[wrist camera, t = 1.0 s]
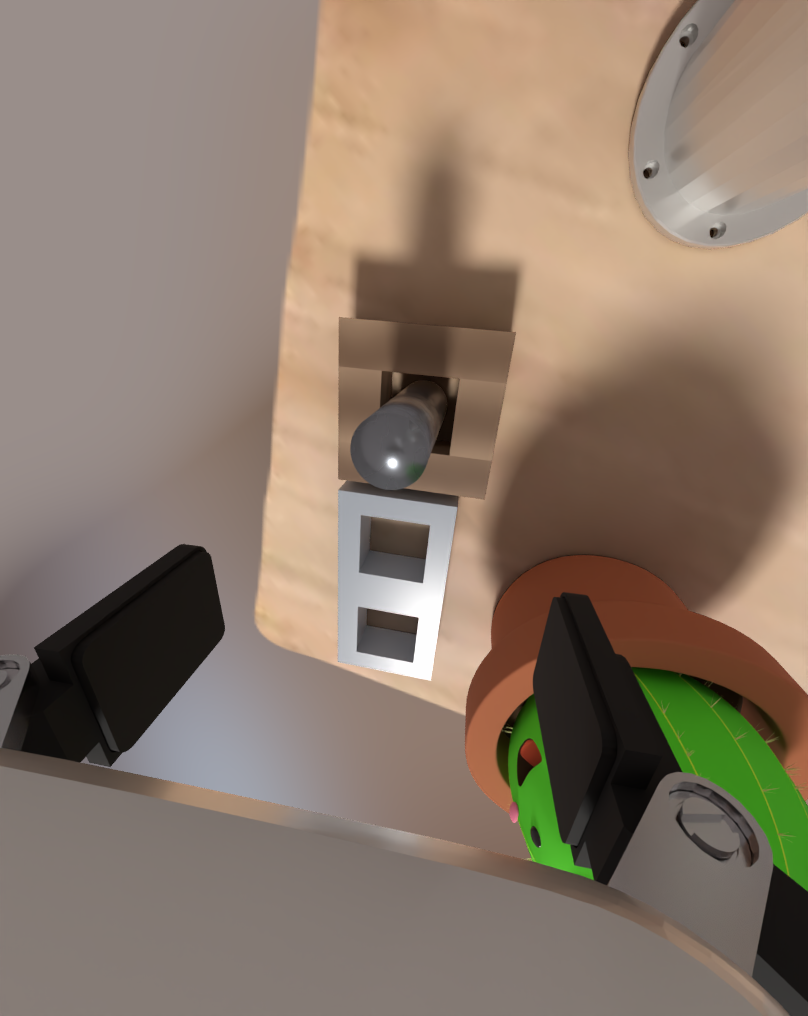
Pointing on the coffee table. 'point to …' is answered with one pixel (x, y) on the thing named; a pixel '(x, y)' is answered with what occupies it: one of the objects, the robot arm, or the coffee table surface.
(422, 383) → the metal peg
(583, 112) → the coffee table surface
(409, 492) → the peg rack
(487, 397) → the socket block
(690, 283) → the coffee table surface
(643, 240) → the coffee table surface
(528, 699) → the potted cactus
